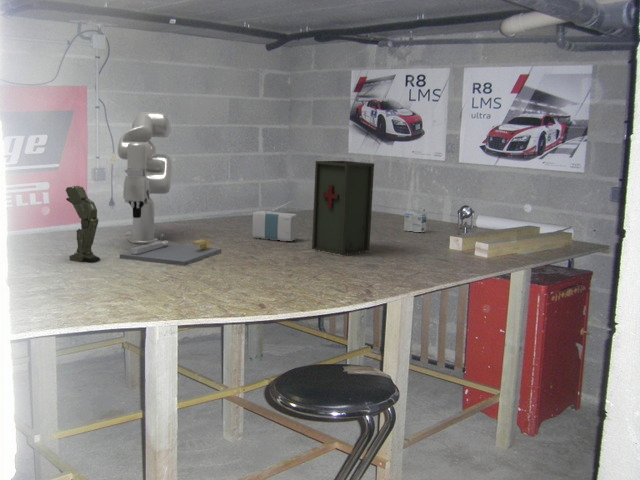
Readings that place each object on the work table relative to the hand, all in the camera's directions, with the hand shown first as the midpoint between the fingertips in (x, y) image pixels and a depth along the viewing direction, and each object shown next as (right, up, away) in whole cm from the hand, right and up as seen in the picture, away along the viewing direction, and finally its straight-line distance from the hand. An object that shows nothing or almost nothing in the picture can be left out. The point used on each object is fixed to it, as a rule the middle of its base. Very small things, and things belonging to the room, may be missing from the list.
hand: (136, 217), depth 281 cm
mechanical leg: (-16, -17, -17) cm, 29 cm away
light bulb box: (+128, -5, +94) cm, 159 cm away
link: (+5, -13, +1) cm, 14 cm away
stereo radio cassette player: (+54, -9, +49) cm, 73 cm away
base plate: (+15, -16, 0) cm, 21 cm away
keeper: (+26, -14, +6) cm, 30 cm away
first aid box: (+85, -14, +27) cm, 91 cm away
